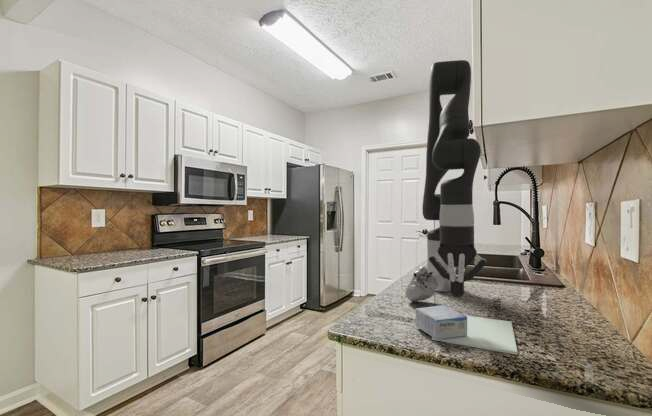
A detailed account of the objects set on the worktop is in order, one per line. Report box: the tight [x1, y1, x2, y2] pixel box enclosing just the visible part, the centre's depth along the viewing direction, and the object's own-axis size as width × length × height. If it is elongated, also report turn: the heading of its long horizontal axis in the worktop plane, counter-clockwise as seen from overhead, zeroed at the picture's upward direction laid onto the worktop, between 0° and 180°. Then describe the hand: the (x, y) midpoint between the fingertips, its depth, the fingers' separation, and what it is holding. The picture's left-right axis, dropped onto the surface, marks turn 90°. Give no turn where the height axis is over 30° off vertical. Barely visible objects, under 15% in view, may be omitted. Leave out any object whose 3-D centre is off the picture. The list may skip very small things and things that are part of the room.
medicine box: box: [415, 304, 468, 341], centre depth 71 cm, size 8×4×9 cm
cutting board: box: [431, 314, 519, 356], centre depth 72 cm, size 18×16×1 cm
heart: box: [405, 266, 439, 303], centre depth 93 cm, size 10×10×12 cm
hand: (457, 297), depth 74 cm, fingers closed
